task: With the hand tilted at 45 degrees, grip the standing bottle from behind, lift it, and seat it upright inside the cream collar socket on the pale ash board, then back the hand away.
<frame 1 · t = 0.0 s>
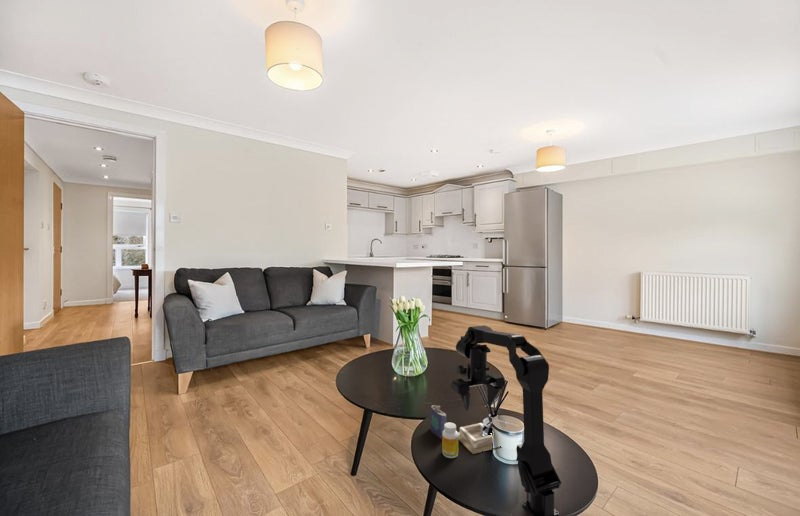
hand: (478, 407, 113), 15 cm above the table, tool pointing down, fingers open, 9 cm apart
socket board: (477, 440, 119), on the table
supplement bottle: (450, 454, 111), on the table
flask: (437, 434, 124), on the table
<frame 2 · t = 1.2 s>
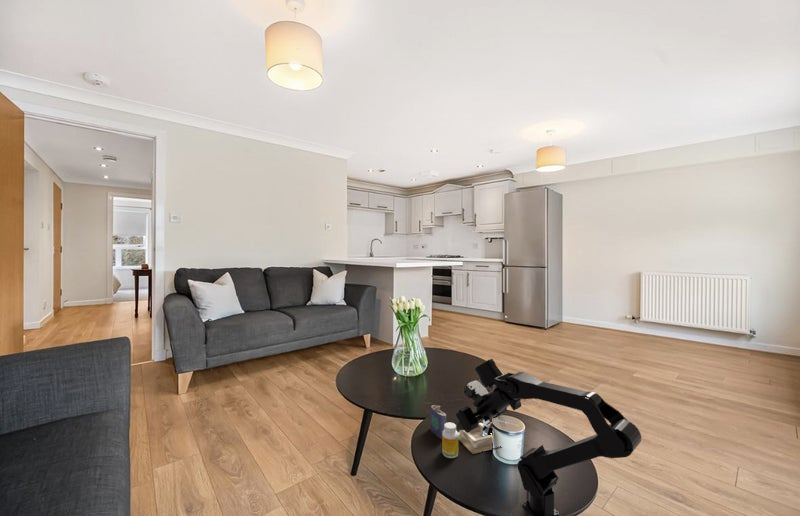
hand: (467, 423, 105), 13 cm above the table, tool tilted 45°, fingers open, 9 cm apart
nothing on the table moved.
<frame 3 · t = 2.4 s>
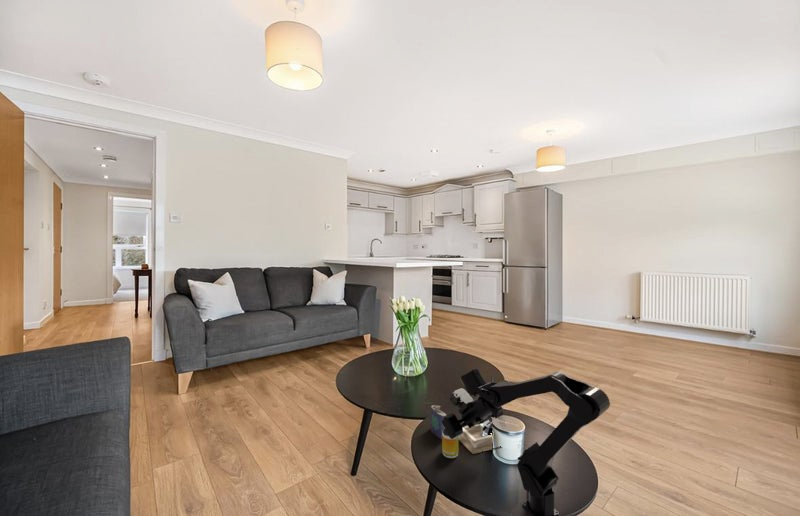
hand: (453, 428, 110), 9 cm above the table, tool tilted 45°, fingers open, 9 cm apart
nothing on the table moved.
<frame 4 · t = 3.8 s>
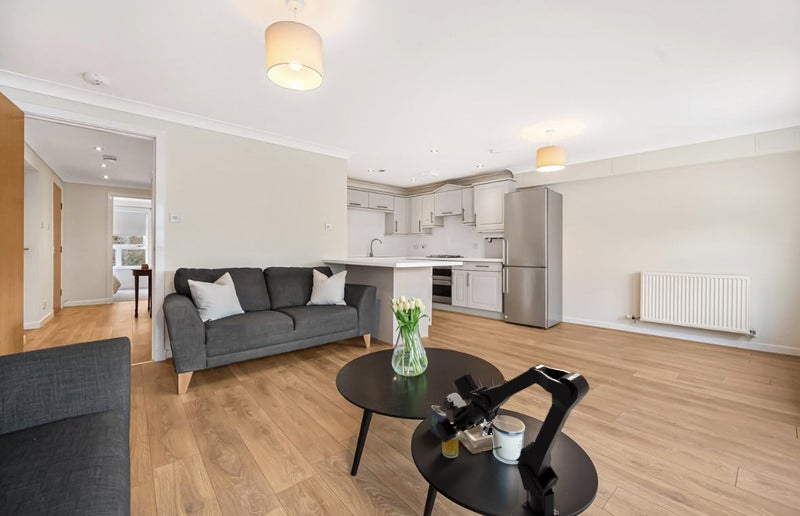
hand: (447, 432, 112), 7 cm above the table, tool tilted 45°, fingers closed on supplement bottle, 5 cm apart
supplement bottle: (450, 454, 111), on the table, touching gripper
everything else where it was.
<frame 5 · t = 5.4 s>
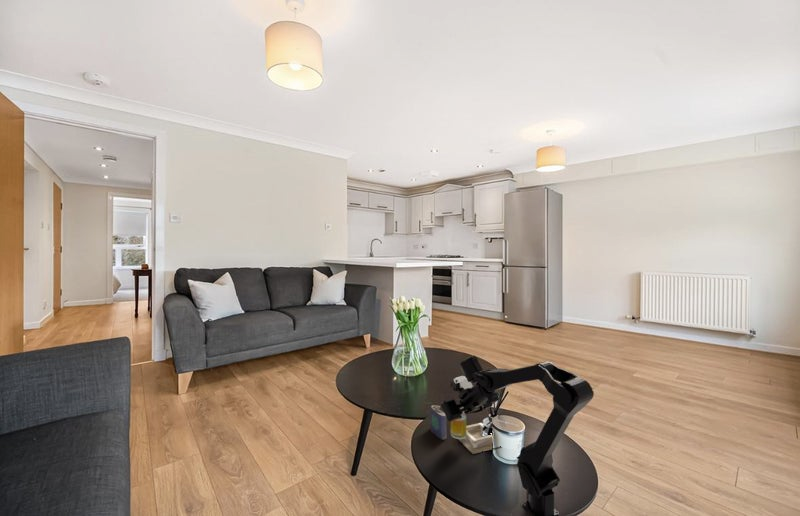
hand: (455, 414, 115), 11 cm above the table, tool tilted 45°, fingers closed on supplement bottle, 5 cm apart
supplement bottle: (458, 435, 114), point 4 cm above the table, touching gripper
everything else where it was.
when the fingers open (9 cm above the table, at t = 7.1 s): supplement bottle drops 1 cm, resting on socket board.
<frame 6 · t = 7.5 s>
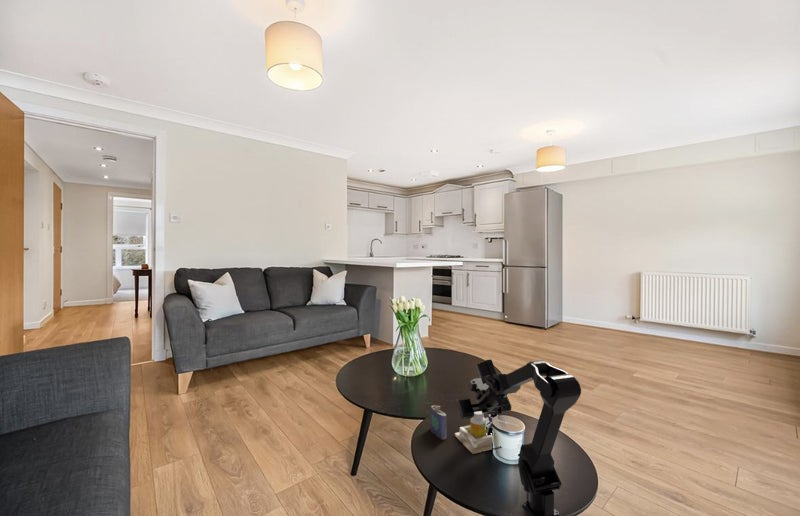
hand: (475, 414, 120), 9 cm above the table, tool tilted 45°, fingers open, 9 cm apart
supplement bottle: (478, 438, 119), point 1 cm above the table, touching socket board
everything else where it was.
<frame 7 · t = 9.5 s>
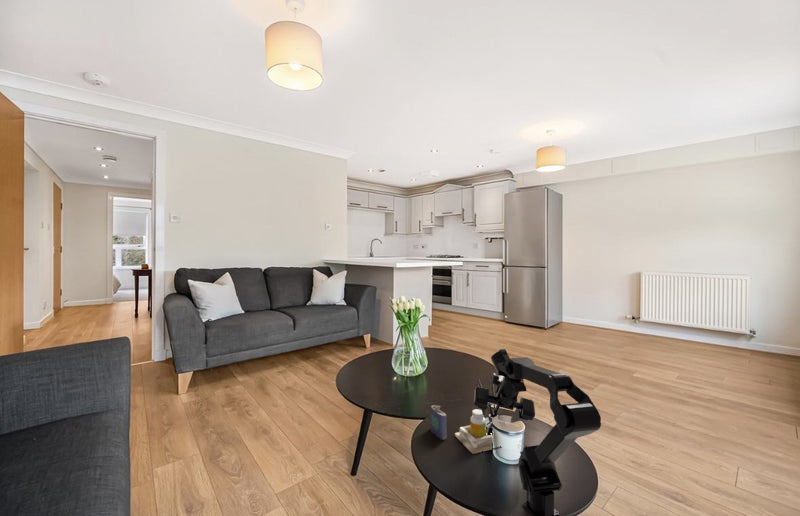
hand: (497, 417, 111), 12 cm above the table, tool tilted 30°, fingers open, 9 cm apart
nothing on the table moved.
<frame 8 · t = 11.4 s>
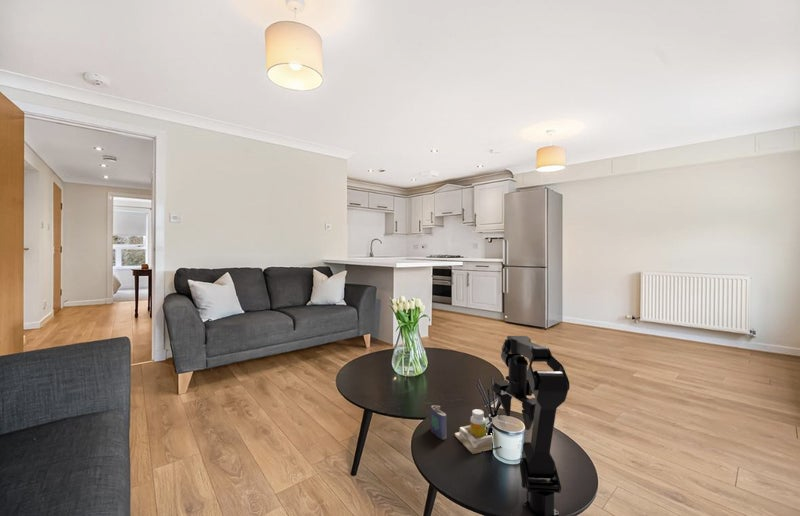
hand: (517, 422, 106), 13 cm above the table, tool pointing down, fingers open, 9 cm apart
nothing on the table moved.
at the end: supplement bottle 0.2 cm off-centre on the socket board, point 0.8 cm above the socket board's base; supplement bottle tilted 0°; the gripper is holding nothing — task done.
